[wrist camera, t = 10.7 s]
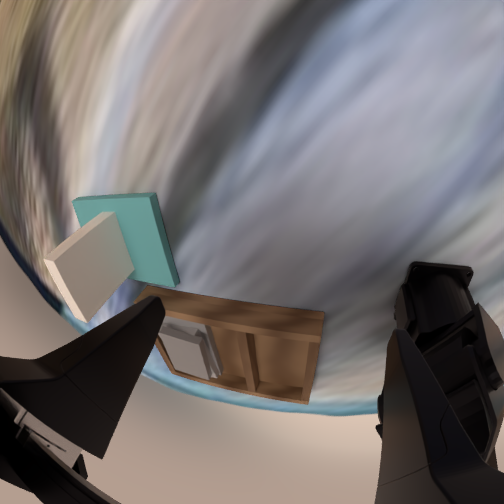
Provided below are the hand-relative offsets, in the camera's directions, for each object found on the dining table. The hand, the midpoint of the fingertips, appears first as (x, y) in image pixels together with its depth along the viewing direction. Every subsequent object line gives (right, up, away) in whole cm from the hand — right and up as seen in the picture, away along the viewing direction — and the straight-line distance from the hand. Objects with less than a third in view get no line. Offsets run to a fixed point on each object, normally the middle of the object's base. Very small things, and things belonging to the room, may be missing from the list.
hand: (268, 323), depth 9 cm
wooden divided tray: (-3, -8, +22) cm, 24 cm away
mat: (-14, +4, +17) cm, 23 cm away
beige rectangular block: (-15, +4, +17) cm, 22 cm away
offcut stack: (-8, -9, +23) cm, 26 cm away
